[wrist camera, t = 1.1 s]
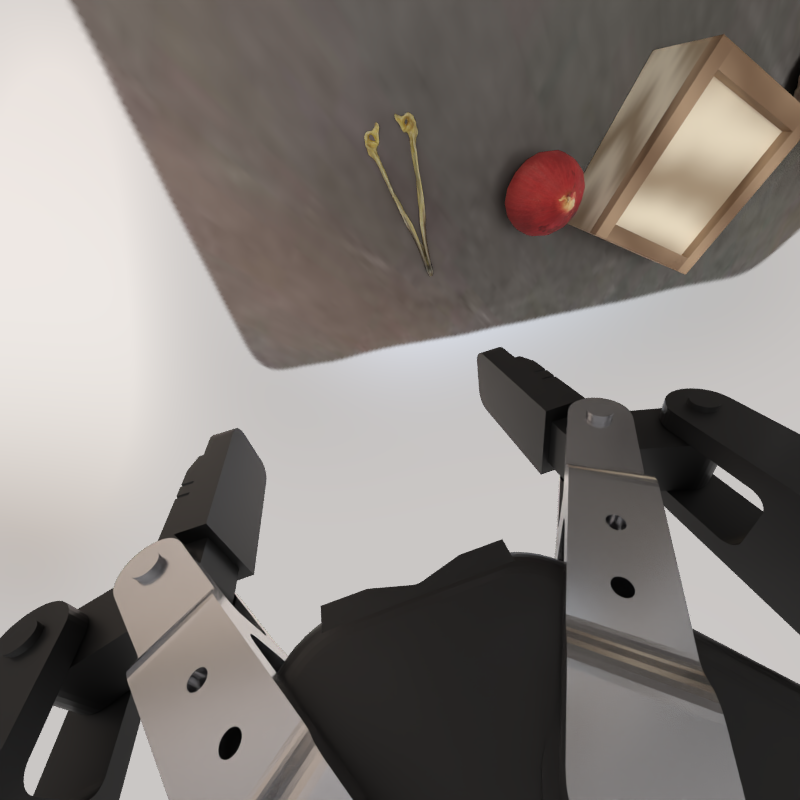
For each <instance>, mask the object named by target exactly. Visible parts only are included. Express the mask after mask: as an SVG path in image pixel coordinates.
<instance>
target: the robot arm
mask: <svg viewBox="0 0 800 800" xmlns="http://www.w3.org/2000/svg"><path fill="white" fill-rule="evenodd" d="M477 365H478V379H479V391H480V397H481V400H482V403H483V405H484V407H485V408H486V410H487V411H488V412H489V413H490V414H491V416H492V417H493V418H494V419H495V420H496V421H497V423H498V424H499V425H500V426H501V427H502V428H503V430H504V431H505V432H506V433H507V435H508V436H509V437H510V438H511V439H512V440H513V441H514V443H515V444H516V445H517V446H518V447H519V449H520V450H521V451H522V452H523V453H524V455H525V456H526V457H527V458H528V459H529V461H530V462H531V463H532V464H533V465H534V467H535V468H536V469H537V470H538V471H539V472H540V474H544V473H546V472H550V471H552V470H556V471H557V473H558V474H559V475H560V478H559V494H558V495H559V496H558V516H557V517H558V518H557V537H556V549H555V559H554V558H551V557H547V556H543V555H540V554H533V553H524V552H511V553H510V552H509V550H508V549H507V547H506V545H505V543H504V542H503V540H499V541H496V542H494V543H491V544H488V545H486V546H483V547H480V548H477V549H475V550H472V551H469V552H466V553H464V554H461V555H459V556H457V557H456V558H455V559H453V560H452V561H450V562H449V563H448V564H446V565H445V566H443V567H442V568H441V569H439V570H438V571H436V572H435V573H433V574H432V575H431V576H429V577H428V578H426V579H425V580H424V581H422V582H420V583H419V584H416V585H409V586H397V587H385V588H373V589H366V590H363V591H360V592H358V593H355V594H352V595H350V596H347V597H344V598H341V599H339V600H336V601H333V602H330V603H328V604H325V605H322V606H321V622H322V623H321V624H320V625H318V626H317V627H316V628H315V629H313V630H312V631H311V632H310V633H309V634H308V635H307V636H305V637H304V639H303V640H302V641H301V642H300V643H299V644H298V645H297V646H296V647H295V648H294V650H293V651H292V652H291V653H290V655H289V656H287V654H286V653H285V652H284V651H283V650H282V649H281V648H280V647H279V646H278V645H277V644H276V642H275V641H274V640H273V639H272V637H271V636H270V635H269V634H268V632H267V631H266V630H265V629H264V627H263V626H262V625H261V623H260V622H259V621H258V620H257V619H256V617H255V616H254V615H253V613H252V612H251V611H250V609H249V608H248V607H247V606H246V605H245V603H244V602H243V601H242V599H241V598H240V597H239V596H238V595H237V594H236V593H235V589H236V582H237V580H240V579H243V578H245V577H248V576H251V575H254V569H255V562H256V554H257V547H258V539H259V532H260V524H261V517H262V509H263V501H264V494H265V486H266V472H265V468H264V465H263V463H262V461H261V460H260V458H259V456H258V455H257V453H256V452H255V450H254V449H253V447H252V446H251V444H250V442H249V441H248V439H247V438H246V436H245V435H244V433H243V432H242V431H241V430H240V429H238V428H236V429H232V430H229V431H226V432H223V433H220V434H216V435H213V436H212V437H211V438H210V440H209V443H208V445H207V448H206V451H205V454H204V455H202V456H199V457H198V459H197V460H196V461H195V462H194V463H193V465H192V466H191V467H190V468H189V469H188V471H187V473H186V475H185V478H184V480H183V483H182V487H180V489H179V492H178V494H177V499H175V501H174V504H173V506H172V509H171V511H170V513H169V516H168V518H167V521H166V523H165V525H164V528H163V530H162V532H161V535H160V537H159V539H158V541H157V542H155V543H153V544H151V545H149V546H147V547H146V548H144V549H143V550H142V551H140V552H139V553H138V554H137V555H135V556H134V557H133V558H132V559H131V560H130V561H129V562H128V563H127V565H126V566H125V567H124V568H123V570H122V571H121V572H120V574H119V576H118V578H117V579H116V582H115V585H114V588H113V589H111V590H109V591H107V592H106V593H104V594H103V595H101V596H99V597H97V598H96V599H94V600H93V601H91V602H89V603H87V604H86V605H84V606H82V607H81V608H79V609H76V608H74V607H73V606H71V605H69V604H67V603H65V602H63V601H55V602H51V603H48V604H45V605H43V606H41V607H39V608H37V609H35V610H33V611H32V612H30V613H29V614H27V615H26V616H24V617H23V618H22V619H21V620H19V621H18V622H17V623H16V624H14V625H13V626H12V627H11V628H10V629H9V630H8V631H7V632H6V633H5V634H4V635H3V636H2V637H1V638H0V800H119V798H120V794H121V791H122V787H123V783H124V780H125V775H126V772H127V768H128V765H129V761H130V757H131V753H132V750H133V746H134V742H135V738H136V735H137V731H138V727H139V724H140V720H141V722H142V724H143V727H144V730H145V733H146V736H147V739H148V741H149V744H150V747H151V750H152V753H153V756H154V759H155V761H156V765H157V767H158V770H159V773H160V776H161V779H162V782H163V784H164V787H165V790H166V793H167V796H168V799H169V800H800V684H798V683H795V682H794V681H792V680H790V679H788V678H786V677H784V676H782V675H780V674H779V673H777V672H775V671H773V670H771V669H769V668H767V667H765V666H763V665H761V664H759V663H757V662H755V661H753V660H751V659H750V658H748V657H746V656H744V655H742V654H740V653H738V652H736V651H734V650H732V649H730V648H729V647H727V646H725V645H723V644H721V643H719V642H717V641H715V640H713V639H711V638H709V637H707V636H705V635H704V634H701V633H700V632H698V631H696V630H694V629H692V626H691V622H690V618H689V614H688V609H687V605H686V601H685V596H684V592H683V588H682V583H681V579H680V575H679V570H678V567H677V562H676V557H675V553H674V549H673V544H672V540H671V536H670V532H669V527H668V523H667V519H666V514H665V510H664V506H665V507H666V508H667V509H668V510H669V511H670V512H671V513H672V514H673V515H674V516H675V517H677V519H678V520H679V521H680V522H681V523H683V524H684V525H685V526H686V527H687V528H688V529H689V530H690V531H691V532H692V533H693V534H694V535H695V536H696V537H697V538H698V539H700V541H702V542H703V543H704V544H705V545H706V546H707V547H708V548H709V549H710V550H711V551H712V552H713V553H714V554H715V555H716V556H717V557H718V558H720V559H721V560H722V561H723V562H724V563H725V564H726V565H727V566H728V567H729V568H730V569H731V570H732V571H733V572H734V573H735V574H736V575H738V577H739V578H741V579H742V580H743V581H744V582H745V583H746V584H747V585H748V586H749V587H750V588H751V589H752V590H753V591H754V592H755V593H757V595H758V596H760V597H761V598H762V599H763V600H764V601H765V602H766V603H767V604H768V605H769V606H770V607H771V608H772V609H773V610H774V611H775V612H776V613H778V614H779V615H780V616H781V617H782V618H783V619H784V620H785V621H786V622H787V623H788V624H789V625H790V626H791V627H792V628H793V629H794V630H795V631H796V632H797V633H799V634H800V434H798V433H796V432H794V431H792V430H790V429H789V428H786V427H785V426H783V425H781V424H779V423H777V422H775V421H773V420H771V419H770V418H768V417H766V416H764V415H762V414H760V413H758V412H756V411H754V410H752V409H750V408H749V407H747V406H745V405H743V404H741V403H739V402H737V401H735V400H733V399H731V398H729V397H727V396H725V395H722V394H720V393H717V392H713V391H709V390H703V389H680V390H676V391H673V392H671V393H669V394H668V395H667V396H666V398H665V401H664V404H663V407H662V408H660V409H648V410H636V411H629V410H628V409H627V408H626V407H625V406H623V405H621V404H620V403H617V402H615V401H612V400H608V399H603V398H586V399H585V398H584V397H583V396H581V395H580V394H578V393H577V392H576V391H574V390H573V389H572V388H570V387H569V386H568V385H566V384H565V383H564V382H562V381H561V380H559V379H558V378H556V377H554V376H553V374H551V373H550V372H549V371H547V370H546V371H545V369H544V368H543V367H542V366H540V365H539V364H538V363H536V362H534V361H533V360H529V359H526V358H523V357H520V356H519V357H514V356H512V355H511V354H509V353H508V352H507V351H506V350H505V349H503V348H501V347H498V348H495V349H492V350H489V351H486V352H483V353H479V354H478V357H477ZM717 465H718V466H720V467H721V468H722V469H724V470H725V471H727V472H728V473H730V474H731V475H732V476H734V477H735V478H737V479H738V480H739V481H741V482H742V483H743V484H745V485H746V486H748V487H749V488H751V489H752V490H753V491H754V492H755V493H756V494H757V495H758V496H759V498H760V499H761V501H762V503H763V507H764V511H761V510H760V509H759V508H757V507H756V506H755V505H753V504H752V503H751V502H749V501H748V500H747V499H745V498H744V497H743V496H741V495H740V494H739V493H737V492H736V491H735V490H733V489H732V488H731V487H729V486H728V485H727V484H725V483H724V482H723V481H721V480H720V479H719V478H717V477H716V476H715V475H713V472H714V470H715V469H716V467H717ZM663 505H664V506H663ZM52 706H56V707H59V708H63V709H66V710H69V711H68V713H67V715H66V718H65V720H64V723H63V725H62V727H61V730H60V732H59V735H58V737H57V739H56V742H55V744H54V747H53V749H52V752H51V754H50V756H49V759H48V761H47V764H46V767H45V768H44V771H43V773H42V776H41V778H40V781H39V783H38V785H37V788H36V790H35V793H34V795H33V796H30V795H29V794H28V793H27V792H26V790H25V788H24V782H23V780H24V771H25V767H26V764H27V762H28V759H29V757H30V755H31V753H32V751H33V748H34V746H35V744H36V742H37V739H38V737H39V735H40V733H41V731H42V728H43V726H44V724H45V721H46V719H47V717H48V715H49V713H50V711H51V708H52Z"/></svg>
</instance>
